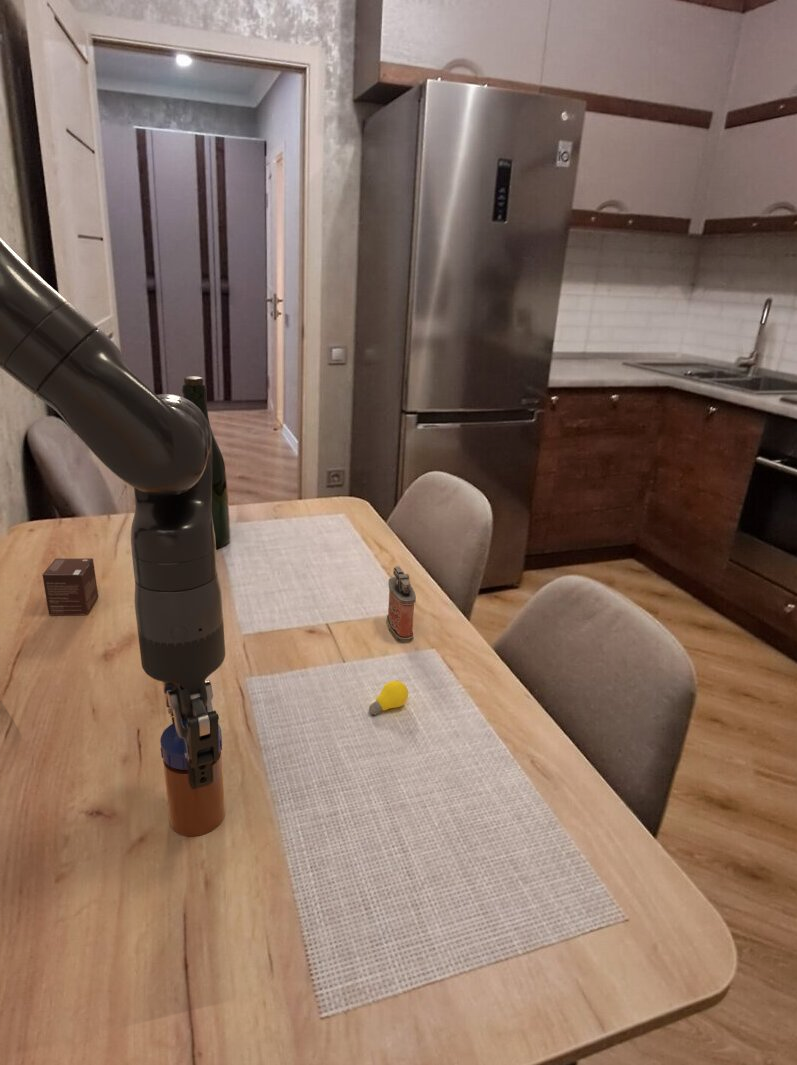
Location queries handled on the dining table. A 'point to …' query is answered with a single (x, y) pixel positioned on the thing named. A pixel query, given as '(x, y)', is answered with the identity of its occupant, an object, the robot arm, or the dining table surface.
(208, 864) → the dining table surface
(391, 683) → the light bulb
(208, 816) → the jam jar
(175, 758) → the jam lid
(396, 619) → the lighter
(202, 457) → the robot arm
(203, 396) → the dark green wine bottle
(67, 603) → the box
